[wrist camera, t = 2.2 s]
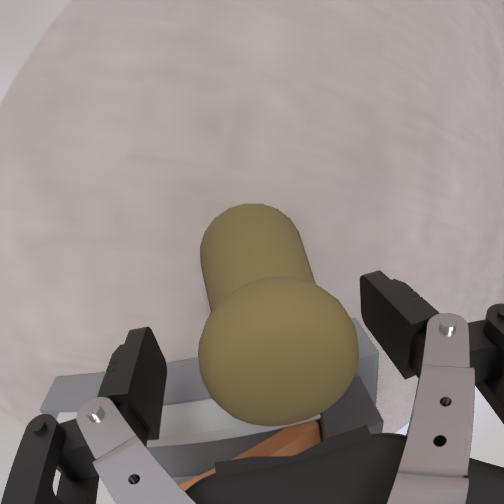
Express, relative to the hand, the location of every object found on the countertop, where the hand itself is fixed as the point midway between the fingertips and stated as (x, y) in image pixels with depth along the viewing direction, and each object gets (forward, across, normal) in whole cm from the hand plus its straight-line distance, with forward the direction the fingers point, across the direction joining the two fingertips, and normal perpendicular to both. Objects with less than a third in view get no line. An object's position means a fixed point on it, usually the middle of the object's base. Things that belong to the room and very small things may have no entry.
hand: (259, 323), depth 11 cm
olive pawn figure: (+8, -1, 0) cm, 8 cm away
